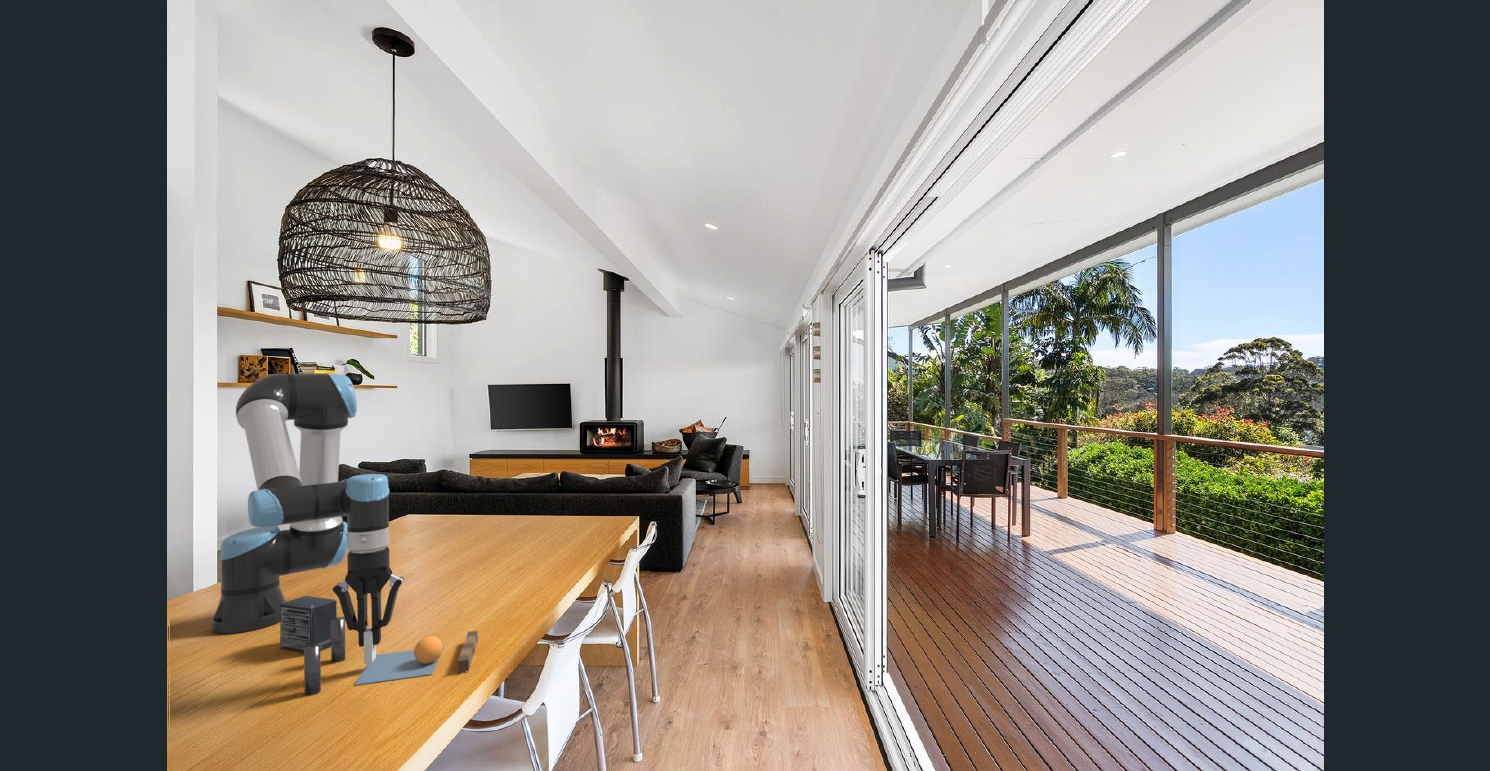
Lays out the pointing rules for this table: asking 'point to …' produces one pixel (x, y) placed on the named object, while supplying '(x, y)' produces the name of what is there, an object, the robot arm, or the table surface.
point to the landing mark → (394, 668)
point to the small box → (306, 622)
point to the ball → (428, 650)
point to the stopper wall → (467, 651)
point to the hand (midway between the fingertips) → (370, 660)
